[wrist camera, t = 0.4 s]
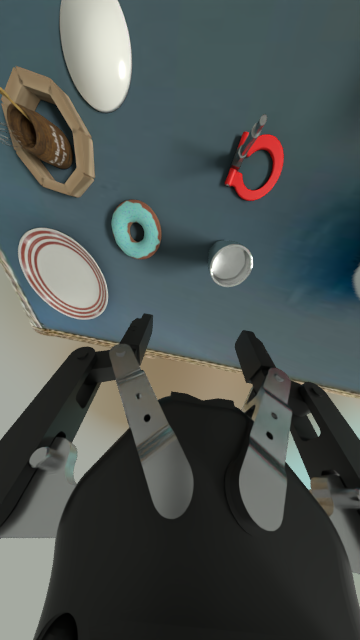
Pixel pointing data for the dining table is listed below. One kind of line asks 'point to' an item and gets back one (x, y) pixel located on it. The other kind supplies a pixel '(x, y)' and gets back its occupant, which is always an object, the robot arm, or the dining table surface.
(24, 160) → the oak ring
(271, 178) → the tow hook
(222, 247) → the beer glass
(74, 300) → the dinner plate
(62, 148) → the utensil holder
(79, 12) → the coaster
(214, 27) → the dining table surface
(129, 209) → the donut
